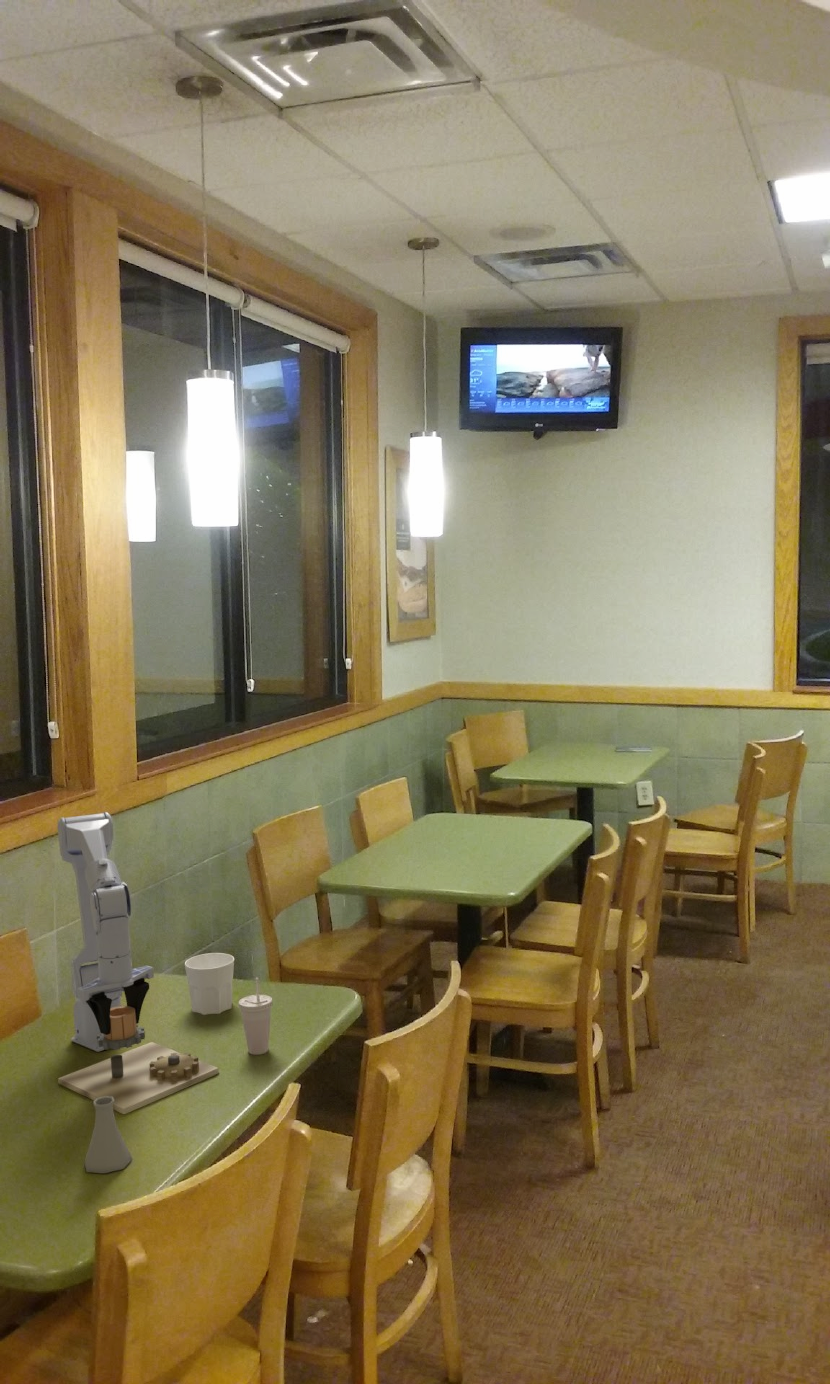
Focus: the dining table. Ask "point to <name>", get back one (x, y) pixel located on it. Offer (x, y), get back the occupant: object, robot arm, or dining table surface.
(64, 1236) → the dining table surface
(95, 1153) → the flask
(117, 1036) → the planet gear
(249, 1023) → the smoothie
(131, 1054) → the carrier
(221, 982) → the cup
